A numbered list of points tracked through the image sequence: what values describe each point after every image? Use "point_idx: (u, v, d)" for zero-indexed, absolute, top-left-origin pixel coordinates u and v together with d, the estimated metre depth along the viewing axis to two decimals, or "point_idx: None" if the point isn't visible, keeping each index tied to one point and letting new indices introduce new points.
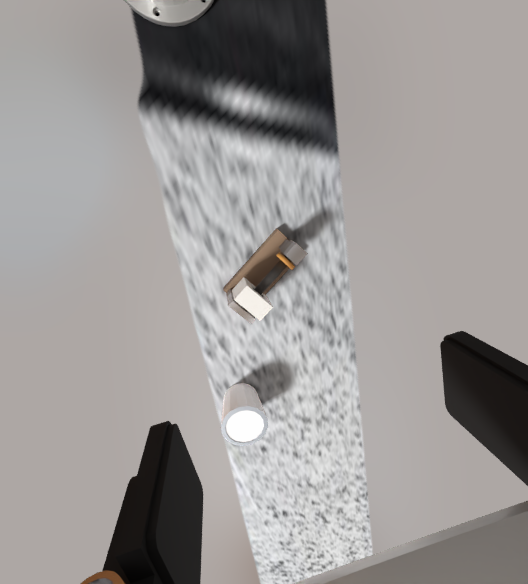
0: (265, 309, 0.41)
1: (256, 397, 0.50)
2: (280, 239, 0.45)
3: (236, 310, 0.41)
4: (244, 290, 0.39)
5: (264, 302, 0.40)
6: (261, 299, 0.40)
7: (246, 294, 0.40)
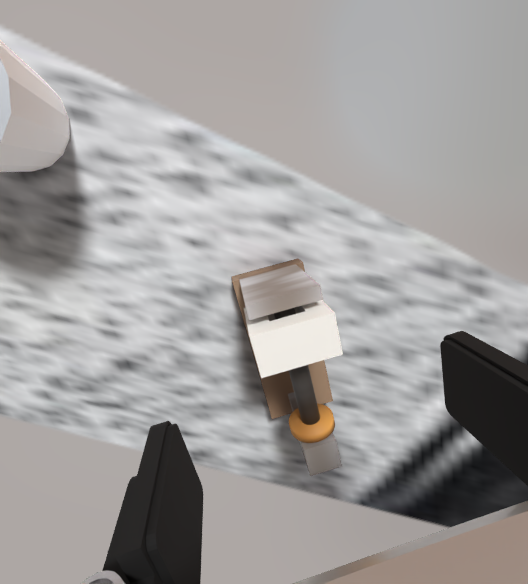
0: (266, 362, 0.16)
1: (6, 170, 0.17)
2: (317, 397, 0.25)
3: (298, 294, 0.17)
4: (337, 344, 0.17)
5: (284, 367, 0.17)
6: (294, 365, 0.17)
7: (326, 343, 0.16)
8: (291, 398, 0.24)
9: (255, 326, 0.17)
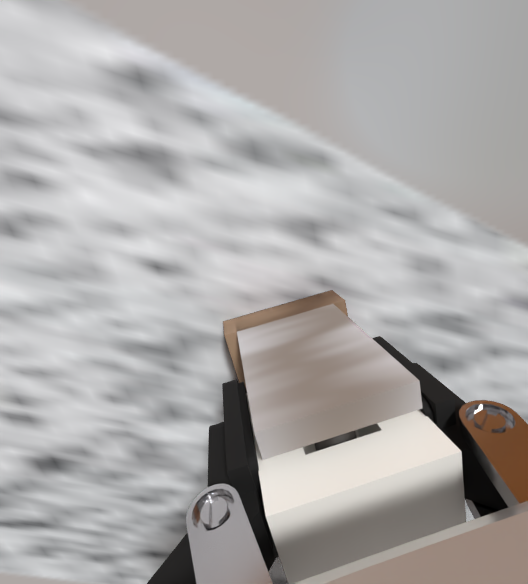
0: (303, 561, 0.07)
1: None
2: None
3: (370, 402, 0.07)
4: (457, 511, 0.07)
5: None
6: None
7: (436, 511, 0.07)
8: None
9: (275, 469, 0.08)
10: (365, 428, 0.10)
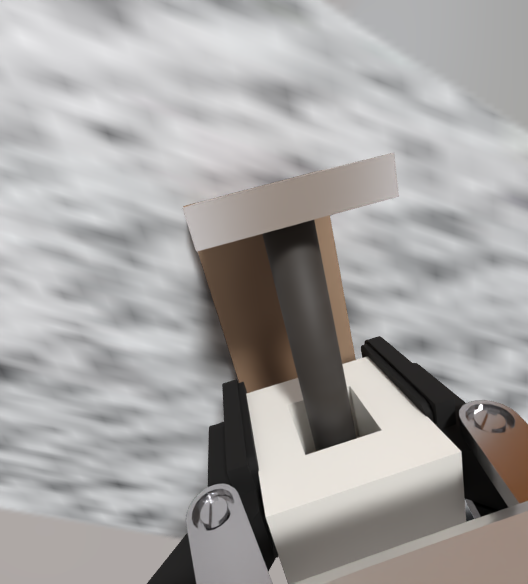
0: (303, 561, 0.07)
1: None
2: None
3: (332, 179, 0.06)
4: (457, 511, 0.07)
5: (340, 566, 0.07)
6: None
7: (436, 511, 0.07)
8: None
9: (275, 469, 0.08)
10: (365, 428, 0.10)
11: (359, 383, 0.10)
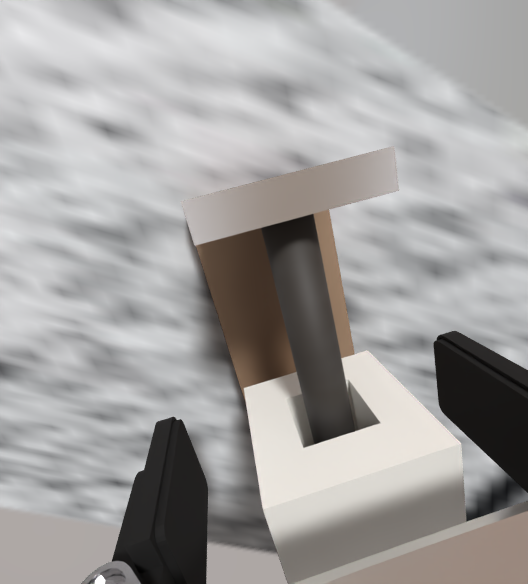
0: (300, 554, 0.07)
1: None
2: None
3: (332, 173, 0.06)
4: (457, 504, 0.07)
5: (339, 560, 0.07)
6: (362, 552, 0.07)
7: (435, 505, 0.07)
8: None
9: (273, 462, 0.08)
10: (364, 422, 0.09)
11: (358, 377, 0.10)
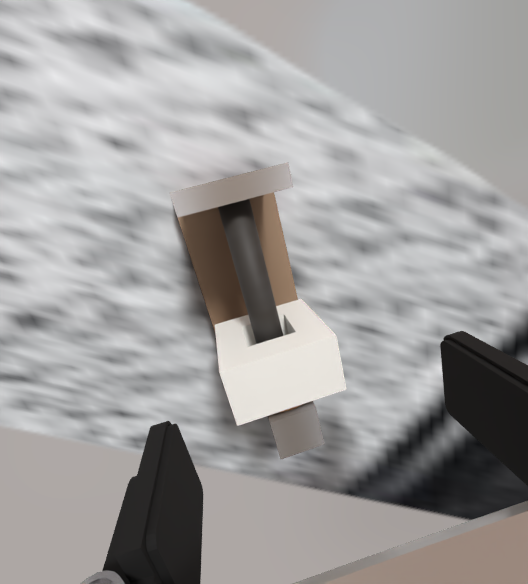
0: (243, 404, 0.12)
1: None
2: None
3: (253, 177, 0.11)
4: (339, 376, 0.12)
5: (268, 410, 0.12)
6: (282, 406, 0.12)
7: (325, 376, 0.12)
8: None
9: (228, 354, 0.12)
10: None
11: (290, 312, 0.15)
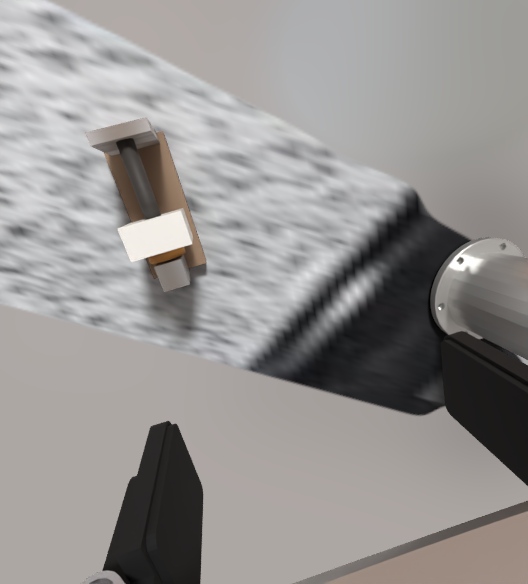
0: (133, 249, 0.22)
1: None
2: (192, 259, 0.30)
3: (128, 124, 0.21)
4: (186, 235, 0.23)
5: (147, 253, 0.23)
6: (155, 252, 0.23)
7: (178, 234, 0.23)
8: None
9: (126, 225, 0.23)
10: None
11: (171, 212, 0.25)
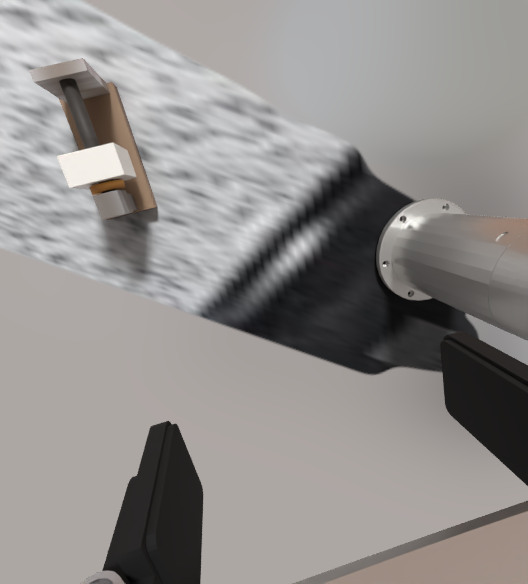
0: (71, 175, 0.26)
1: None
2: (141, 202, 0.33)
3: (67, 64, 0.24)
4: (119, 166, 0.26)
5: (84, 181, 0.26)
6: (91, 179, 0.26)
7: (111, 164, 0.26)
8: None
9: None
10: None
11: None
